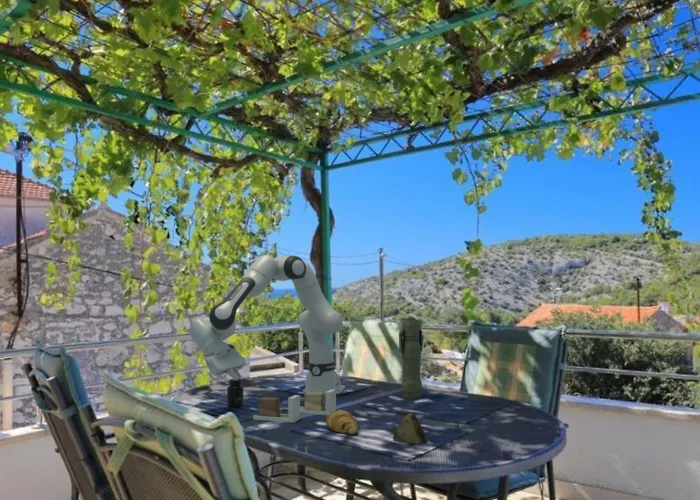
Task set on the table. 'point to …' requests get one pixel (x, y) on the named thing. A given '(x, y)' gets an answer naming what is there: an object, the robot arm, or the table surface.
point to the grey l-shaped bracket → (292, 412)
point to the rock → (410, 431)
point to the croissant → (342, 422)
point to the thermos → (411, 358)
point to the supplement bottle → (235, 394)
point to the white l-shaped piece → (330, 405)
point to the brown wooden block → (269, 407)
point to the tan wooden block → (315, 401)
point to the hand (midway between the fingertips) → (238, 378)
